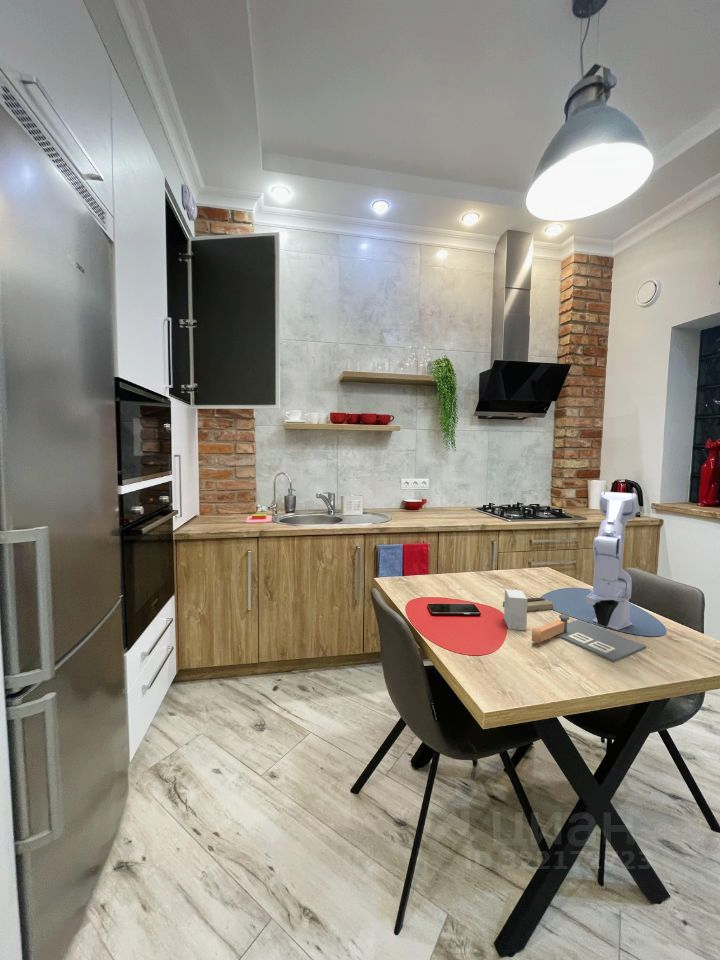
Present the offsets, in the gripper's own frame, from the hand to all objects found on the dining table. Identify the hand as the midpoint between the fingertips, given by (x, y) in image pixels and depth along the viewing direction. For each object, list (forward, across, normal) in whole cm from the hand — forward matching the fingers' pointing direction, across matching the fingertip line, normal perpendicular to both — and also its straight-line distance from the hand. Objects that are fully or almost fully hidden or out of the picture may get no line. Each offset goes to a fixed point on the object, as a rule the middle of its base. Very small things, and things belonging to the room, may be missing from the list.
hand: (602, 624), depth 108 cm
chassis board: (+7, -4, -4) cm, 10 cm away
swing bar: (+6, +9, -11) cm, 15 cm away
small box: (+8, +9, -22) cm, 25 cm away
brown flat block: (+8, -8, -30) cm, 32 cm away
